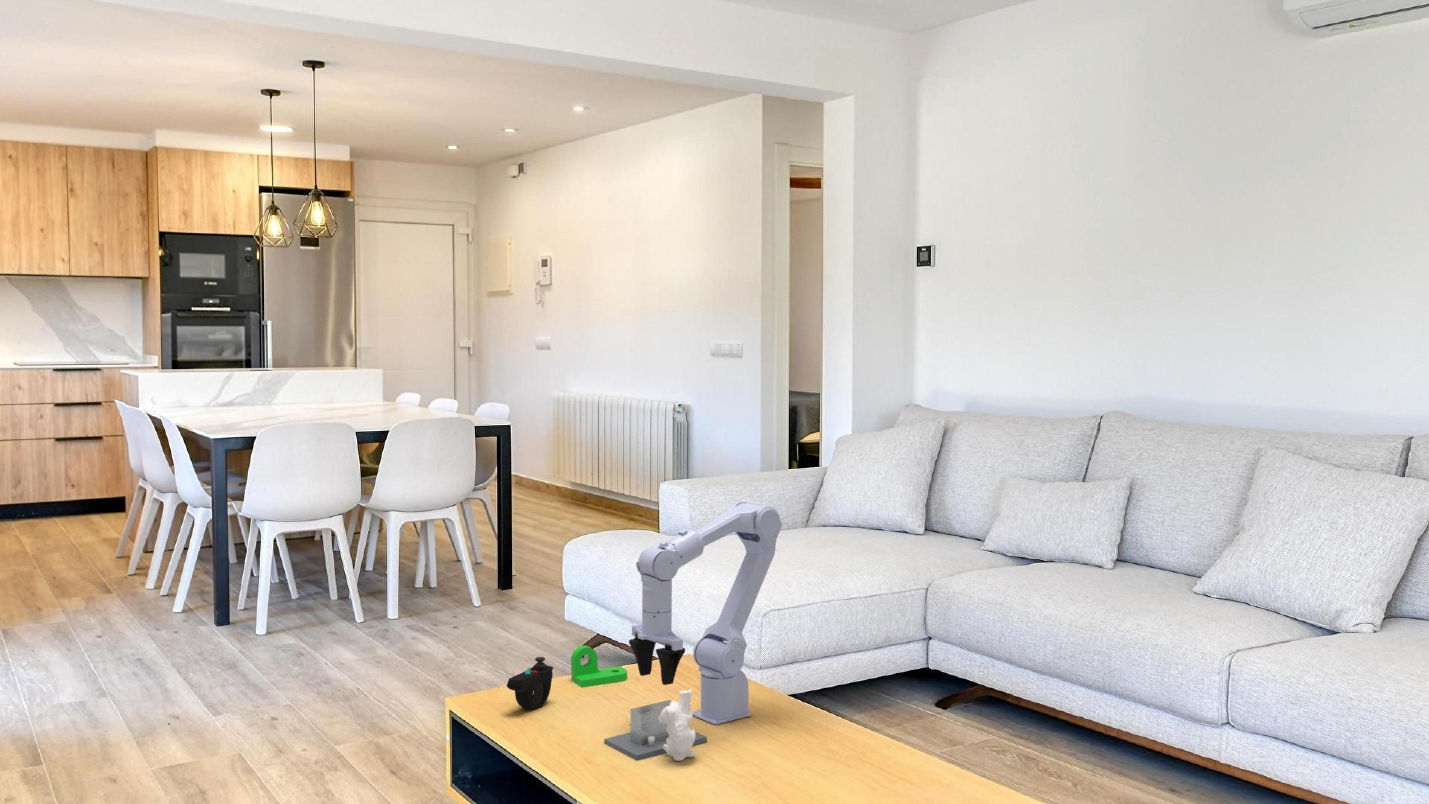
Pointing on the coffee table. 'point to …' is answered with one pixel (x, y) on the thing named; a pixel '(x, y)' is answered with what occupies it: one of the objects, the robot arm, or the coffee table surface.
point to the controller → (532, 685)
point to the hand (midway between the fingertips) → (656, 679)
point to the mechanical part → (593, 670)
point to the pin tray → (644, 751)
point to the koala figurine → (679, 727)
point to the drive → (648, 723)
